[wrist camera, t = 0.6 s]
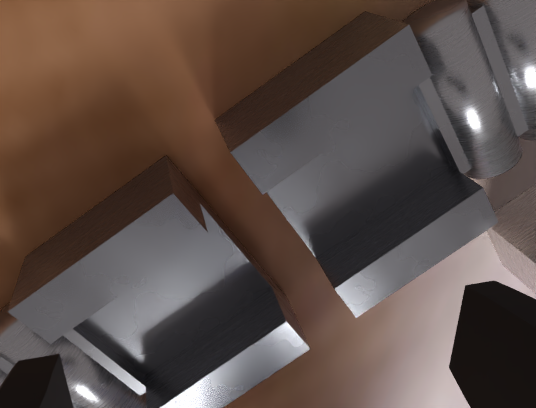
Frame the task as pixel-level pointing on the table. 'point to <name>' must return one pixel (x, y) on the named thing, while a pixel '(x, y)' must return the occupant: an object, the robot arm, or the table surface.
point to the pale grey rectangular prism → (517, 237)
